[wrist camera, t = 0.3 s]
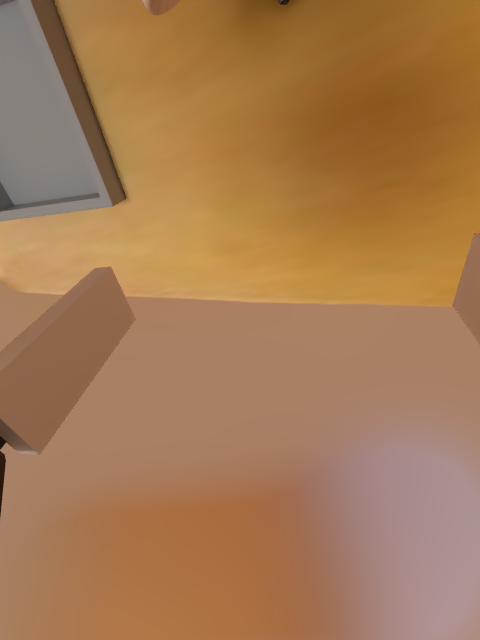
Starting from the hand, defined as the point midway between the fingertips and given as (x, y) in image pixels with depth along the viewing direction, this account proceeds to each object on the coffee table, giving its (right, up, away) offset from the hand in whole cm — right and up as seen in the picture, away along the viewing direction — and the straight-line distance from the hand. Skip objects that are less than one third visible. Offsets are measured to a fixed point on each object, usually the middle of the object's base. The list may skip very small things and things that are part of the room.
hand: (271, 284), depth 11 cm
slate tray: (-27, +22, +24) cm, 42 cm away
